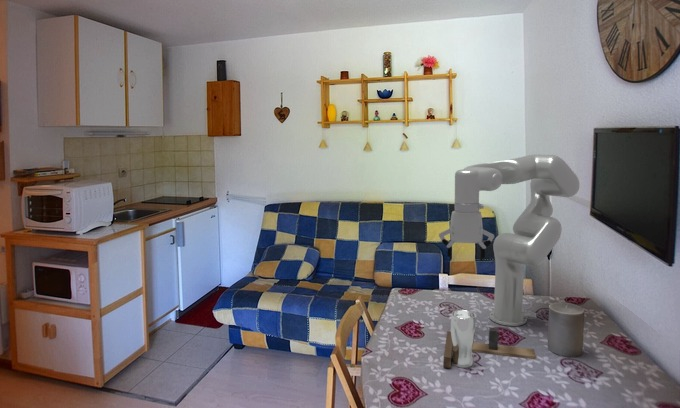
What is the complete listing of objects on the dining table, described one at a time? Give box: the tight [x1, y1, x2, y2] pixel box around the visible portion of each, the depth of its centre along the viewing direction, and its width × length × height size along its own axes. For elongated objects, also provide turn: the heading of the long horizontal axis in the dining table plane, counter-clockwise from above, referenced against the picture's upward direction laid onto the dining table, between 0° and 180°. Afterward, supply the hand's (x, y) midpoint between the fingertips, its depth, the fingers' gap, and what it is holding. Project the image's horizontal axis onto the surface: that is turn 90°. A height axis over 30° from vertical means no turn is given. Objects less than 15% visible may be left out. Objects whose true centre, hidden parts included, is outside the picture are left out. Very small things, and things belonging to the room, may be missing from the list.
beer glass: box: [450, 309, 477, 369], centre depth 127 cm, size 7×7×15 cm
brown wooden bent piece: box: [443, 327, 537, 369], centre depth 129 cm, size 26×18×7 cm
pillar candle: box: [547, 301, 585, 358], centre depth 134 cm, size 10×10×15 cm
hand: (465, 259), depth 143 cm, fingers open, 9 cm apart
